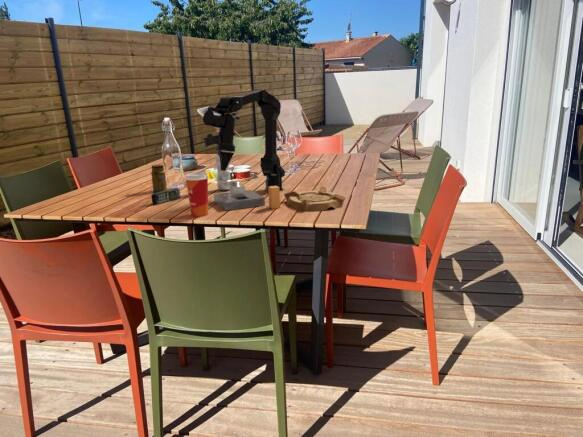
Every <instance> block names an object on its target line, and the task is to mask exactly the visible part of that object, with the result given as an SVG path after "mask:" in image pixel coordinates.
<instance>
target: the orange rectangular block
mask: <svg viewBox="0 0 583 437" xmlns="http://www.w3.org/2000/svg"><path fill="white" fill-rule="evenodd" d="M268 189H269V190H268V207H269V209H272V210H273V209H281V197H280V196H281V195H280V191H281V190H280V188H279V187H278V186H270V187H268Z"/></svg>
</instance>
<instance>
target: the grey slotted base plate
mask: <svg viewBox="0 0 583 437" xmlns="http://www.w3.org/2000/svg"><path fill="white" fill-rule="evenodd" d="M229 190H230V192H221V193H214V194H213V201H214V203H216V204H217V205H218V206H219V207H220V208H222V209H223V210H224V211H231V210H238V209H246V208H254V207H260V206H261V207H262V206H265V205H266V203H265V202H266V198H265V197H264V196H262V195H260V194H259V193H258V192H255V191H254V190H252V189H247V190H246V185H244V184H241V183H240V180H231V181H230V189H229Z"/></svg>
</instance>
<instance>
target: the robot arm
mask: <svg viewBox="0 0 583 437" xmlns="http://www.w3.org/2000/svg"><path fill="white" fill-rule="evenodd" d="M255 102H256V105H257V106H258V107H259V109H260V112H261V115H262V118H264V155H263V157H260V169H261V172H262V175H263V177H266V178H265V190H267V191H269V189H268V187H270V186H278V187H279V188H280V191H283V190H284V188H283V178H284V177H285V175H286V171H285V170H284V168H283V166H282V165H281V159H280V157H279V155H278V153H277V151H278V150H277V146H278V145H277V143H278V142H277V120H278V118H279V117H280V115H281V108H282V107H281V104H282V103H281V102H280V99H278V98H277V97H276V96H274V95H273V94H271V93H269V92H268V91H267V90H266V89H264V88H262V89H261V88H256V89H254V90H250V91H248V92H246V93H243V94H239V95H237V96H236V95H233V96H222V97H220V99H219V101H218V103H217V104H216V105H215V107H213V106H208V107H207V110H206V111H205V112H204V113H203V116H202V122H203V124H204V125H205V126H208V127H211V128H212V127H213V128H217V129H219V130H218V132H217V134H216V135H213V134H212V133H208V134H207V135H206V137H203V143H204V147H206V148H207V147H210V146H212V145H213V146H214V145H216V147H215V153H216V154H218V155H219V157H220V166H221V170H223V171H225V170H226V168H227V166H228V164H229V162H231V160H232V158H233V156H234V155H235V151H236V145H235V144H234V141H235V140H234V139H235V130H236V128H235V127H236V120H237V121H238V120H241V119H240V117H239V115H238V114H237V112H239V111H241V110H242V108H243V107H244V106H246V105H248V104H252V103H255ZM229 165H230V164H229Z"/></svg>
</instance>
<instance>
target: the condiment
mask: <svg viewBox="0 0 583 437" xmlns="http://www.w3.org/2000/svg"><path fill="white" fill-rule="evenodd" d="M164 167H165V166H164V165H163V164H154V165H151V171H150V174H151V183H152V189H151V195H152V194H153V193H156V192H160V191H164V190H167V189H168V186H167V178H166V170H165V168H164Z"/></svg>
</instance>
